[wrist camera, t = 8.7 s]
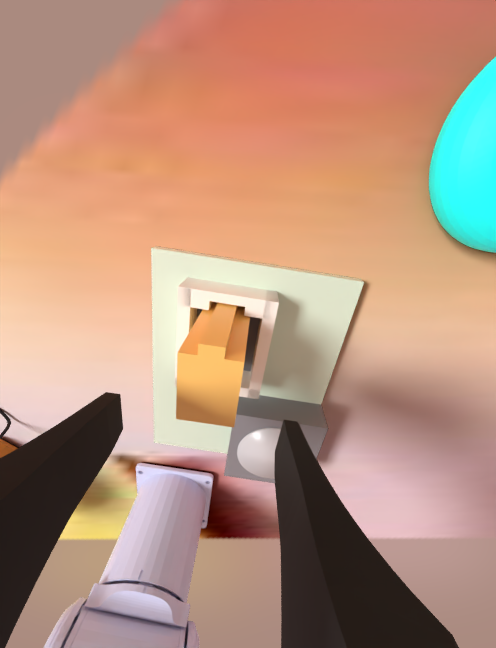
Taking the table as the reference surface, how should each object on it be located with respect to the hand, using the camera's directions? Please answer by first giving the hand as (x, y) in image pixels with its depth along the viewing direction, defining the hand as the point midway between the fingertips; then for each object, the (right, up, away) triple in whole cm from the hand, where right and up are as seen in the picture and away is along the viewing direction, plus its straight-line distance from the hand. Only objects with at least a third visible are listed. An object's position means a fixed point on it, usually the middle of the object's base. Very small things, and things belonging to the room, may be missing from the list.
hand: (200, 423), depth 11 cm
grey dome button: (+4, -4, +12) cm, 13 cm away
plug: (+1, +4, +7) cm, 8 cm away
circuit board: (+2, +1, +10) cm, 10 cm away
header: (+1, +4, +8) cm, 9 cm away
